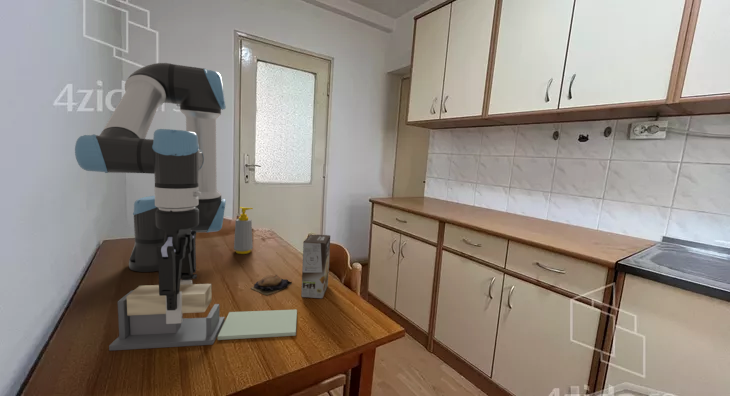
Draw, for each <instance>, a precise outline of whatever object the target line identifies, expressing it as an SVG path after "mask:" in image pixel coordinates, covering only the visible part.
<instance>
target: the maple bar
mask: <svg viewBox="0 0 730 396" xmlns="http://www.w3.org/2000/svg"><path fill="white" fill-rule="evenodd" d="M180 291H182V314H192V313H193V314H195V313H196V314H197V313H205V312H206V310H207V309H208V307H209V305H210V303H211V302H212V283H197V284H196V283H192V284H184V285H180ZM151 314H166V297H165V296H160V295H159V284H154V285H151V284H150V285H138V287H136V288H135V289H134V291H133V292H131V293H130V294H129V295H128V296H127V316H129V315H151Z"/></svg>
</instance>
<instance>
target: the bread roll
mask: <svg viewBox="0 0 730 396" xmlns="http://www.w3.org/2000/svg"><path fill="white" fill-rule="evenodd" d="M292 284H293V283H292V281H289V279H287V278H285V279H283V278H281V277H280V276H279V275H278V274H268V275H266V276H264V277H263V278H261V279H260V280H258V281H256V283H254V284H253V286H251V287H250V289H251V290H252V291H255V292H257V293H259V294H261V295H264V296H270V295H272V294H274V293H277V292H279V291H282V290H284V289H285V288H288V287H290V286H291V285H292Z"/></svg>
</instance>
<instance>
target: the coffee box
mask: <svg viewBox="0 0 730 396" xmlns="http://www.w3.org/2000/svg"><path fill="white" fill-rule="evenodd" d="M302 244H303V246H302V250H303V251H302V269H301V272H302V273H301V293H300V294H301V297H302V298H312V299H313V298H314V299H323V298H324V296H325V293H326V291H327V288H328V285H329V268H330V249H331V248H330V247H331V235H329V234H313V233H312V234H310V235H309V236H308V237H307V238H305V239H304V240H303V243H302Z"/></svg>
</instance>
